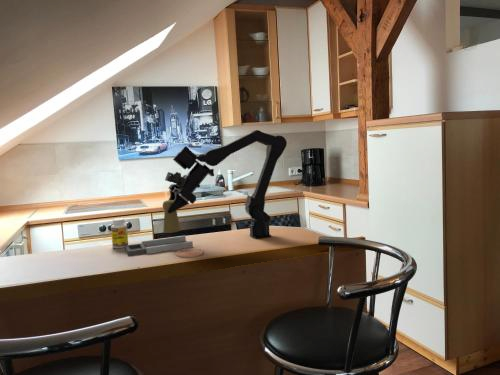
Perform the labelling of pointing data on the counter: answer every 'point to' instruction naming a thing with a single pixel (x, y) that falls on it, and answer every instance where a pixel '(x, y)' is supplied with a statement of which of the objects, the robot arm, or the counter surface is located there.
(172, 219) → the cork
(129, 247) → the trap box
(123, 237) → the supplement bottle
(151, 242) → the guide channel
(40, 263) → the counter surface
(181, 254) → the coaster
